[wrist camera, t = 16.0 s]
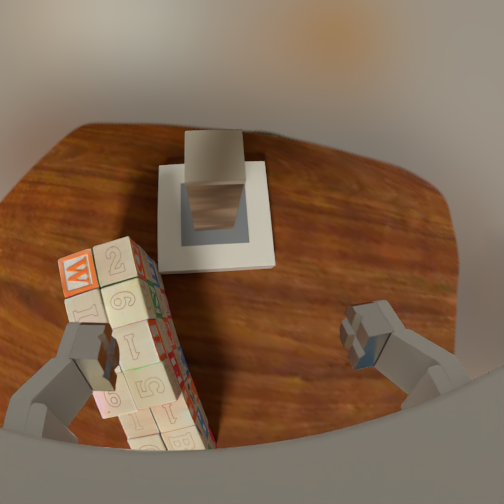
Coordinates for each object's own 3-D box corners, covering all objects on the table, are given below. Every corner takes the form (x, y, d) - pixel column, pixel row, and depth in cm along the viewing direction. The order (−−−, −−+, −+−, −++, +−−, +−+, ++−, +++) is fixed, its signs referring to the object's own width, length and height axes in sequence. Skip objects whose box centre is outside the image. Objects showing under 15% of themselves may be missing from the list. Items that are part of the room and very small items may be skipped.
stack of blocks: (218, 444, 29) (223, 501, 17) (167, 455, 28) (148, 513, 16) (158, 263, 32) (128, 233, 20) (106, 278, 31) (55, 257, 19)
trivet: (161, 274, 32) (158, 271, 30) (161, 173, 34) (159, 165, 32) (271, 268, 34) (275, 264, 32) (261, 169, 36) (264, 160, 34)
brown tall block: (194, 231, 31) (184, 181, 20) (193, 194, 32) (184, 131, 20) (233, 229, 32) (245, 179, 20) (231, 193, 33) (241, 129, 21)
